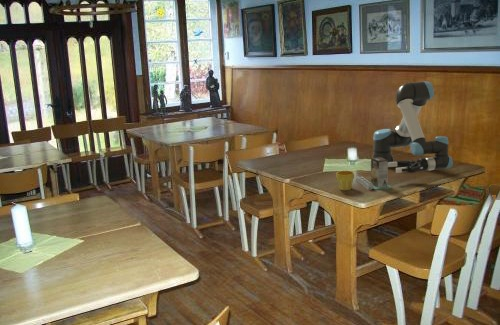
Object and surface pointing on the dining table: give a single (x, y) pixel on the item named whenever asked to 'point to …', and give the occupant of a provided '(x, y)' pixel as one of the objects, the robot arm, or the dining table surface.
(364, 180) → the steel rail
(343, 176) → the plant pot
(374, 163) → the coffee box
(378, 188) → the pad
